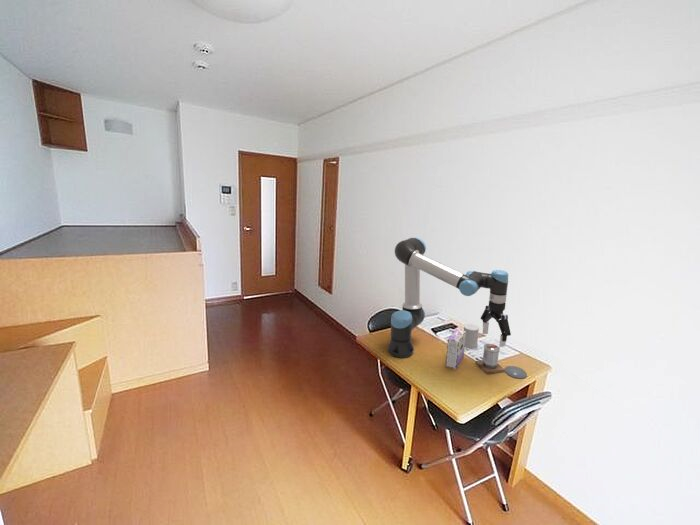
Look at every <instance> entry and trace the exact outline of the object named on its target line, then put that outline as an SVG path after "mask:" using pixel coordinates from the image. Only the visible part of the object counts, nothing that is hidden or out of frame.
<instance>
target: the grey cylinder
mask: <svg viewBox="0 0 700 525" xmlns="http://www.w3.org/2000/svg"><path fill="white" fill-rule="evenodd" d="M500 349H501V347H500V346H498V345H497V344H493V343H485V344H484V345H483V357H482V360H483V362H484V363H485V364H487V365H491V366H494V365H497V363H498V364H499V362H498V361H499V355H500V354H499V353H500V351H501V350H500Z"/></svg>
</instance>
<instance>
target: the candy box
mask: <svg viewBox="0 0 700 525" xmlns="http://www.w3.org/2000/svg"><path fill="white" fill-rule="evenodd" d="M465 335H466V331H464V330H462V329H457V328H455V329H454V331H453V332H452V333H451V334H450V336H449V337H448V338H447V346H446V360H445V367H448V368H450V369H452V370H453V369H454V370H457V369H458V367H459V366H460V364H461V363H462V360H463V359H464V357H465V348H466V347H465Z"/></svg>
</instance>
